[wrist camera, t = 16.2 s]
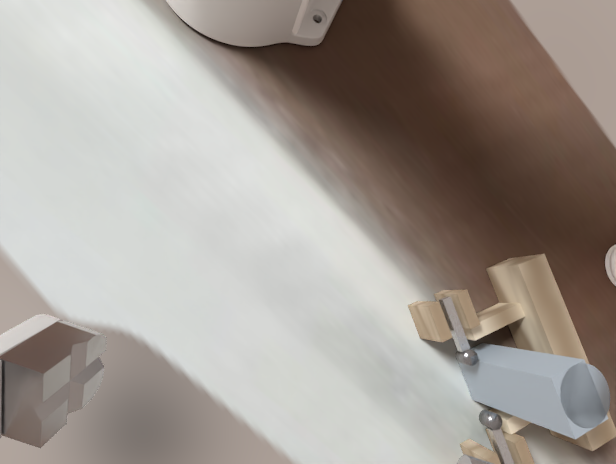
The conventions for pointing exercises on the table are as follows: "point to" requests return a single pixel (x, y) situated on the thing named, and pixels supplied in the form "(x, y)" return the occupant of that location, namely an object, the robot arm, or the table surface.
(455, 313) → the plunger
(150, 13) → the table surface
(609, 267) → the chess piece
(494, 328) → the light wooden frame
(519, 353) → the peg
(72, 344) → the robot arm
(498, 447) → the plunger
